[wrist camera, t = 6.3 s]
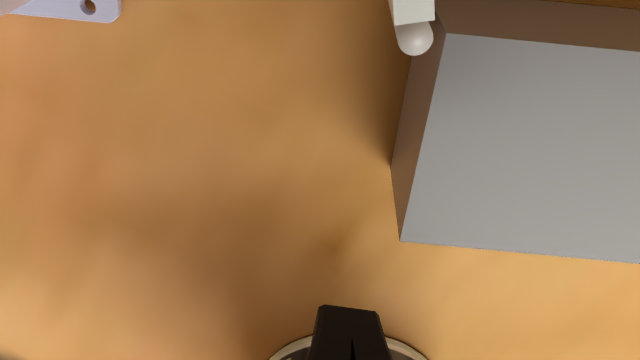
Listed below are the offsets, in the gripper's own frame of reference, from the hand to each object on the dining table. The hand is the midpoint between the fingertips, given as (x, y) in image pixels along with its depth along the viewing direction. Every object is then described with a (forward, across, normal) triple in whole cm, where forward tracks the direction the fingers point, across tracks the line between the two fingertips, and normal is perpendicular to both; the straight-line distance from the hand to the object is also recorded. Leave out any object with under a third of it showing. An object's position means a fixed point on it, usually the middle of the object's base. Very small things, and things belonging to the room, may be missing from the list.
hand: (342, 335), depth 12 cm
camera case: (+9, -7, -3) cm, 12 cm away
